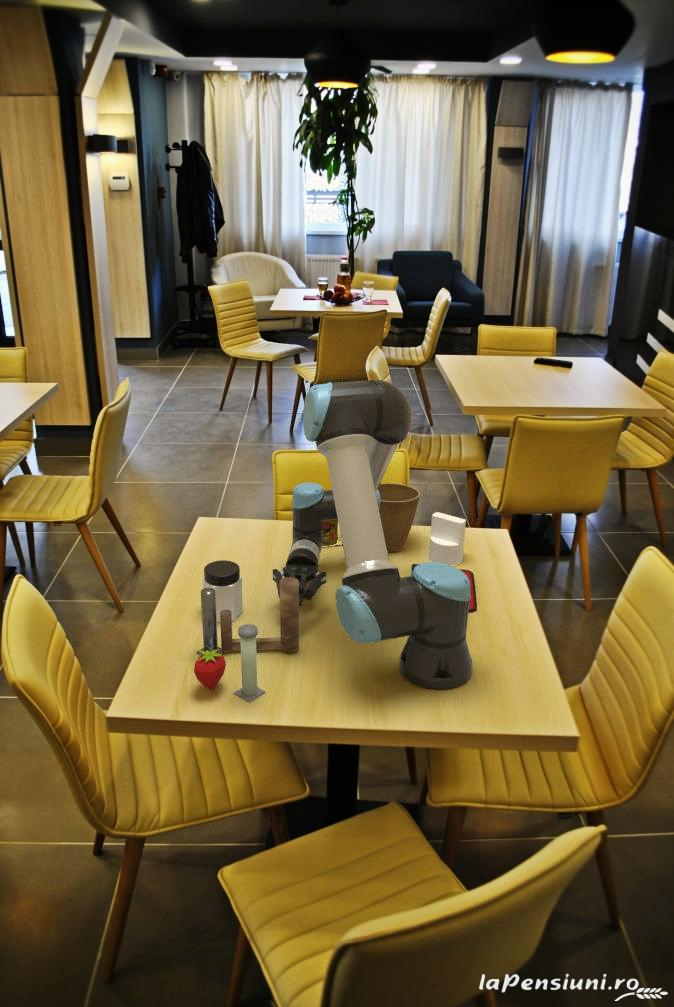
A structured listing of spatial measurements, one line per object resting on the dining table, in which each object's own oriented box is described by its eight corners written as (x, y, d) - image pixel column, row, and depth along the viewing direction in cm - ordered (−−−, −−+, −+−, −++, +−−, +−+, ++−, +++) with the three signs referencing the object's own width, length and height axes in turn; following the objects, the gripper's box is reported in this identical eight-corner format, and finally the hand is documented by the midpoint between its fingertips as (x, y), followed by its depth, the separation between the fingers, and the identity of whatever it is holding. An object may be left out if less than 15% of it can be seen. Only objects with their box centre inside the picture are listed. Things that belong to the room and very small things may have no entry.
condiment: (317, 548, 231) (318, 508, 226) (309, 536, 238) (309, 496, 233) (343, 545, 233) (344, 505, 228) (334, 533, 240) (334, 493, 235)
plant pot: (352, 542, 234) (353, 487, 229) (397, 533, 241) (399, 480, 236) (380, 561, 222) (383, 504, 217) (427, 551, 229) (430, 495, 224)
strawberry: (188, 696, 168) (186, 653, 164) (206, 675, 175) (204, 634, 171) (215, 702, 167) (213, 659, 163) (232, 682, 173) (231, 640, 169)
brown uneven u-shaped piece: (221, 653, 181) (218, 588, 175) (221, 643, 185) (219, 578, 178) (299, 651, 182) (299, 585, 176) (298, 641, 186) (298, 576, 180)
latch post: (265, 692, 170) (264, 628, 164) (249, 702, 167) (247, 638, 161) (249, 683, 173) (248, 621, 167) (234, 693, 169) (231, 629, 164)
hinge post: (225, 651, 183) (222, 590, 177) (210, 660, 180) (207, 598, 174) (211, 644, 186) (208, 584, 180) (196, 652, 183) (192, 591, 177)
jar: (241, 603, 203) (240, 558, 198) (244, 621, 195) (242, 575, 190) (203, 606, 201) (201, 561, 196) (204, 624, 194) (202, 577, 189)
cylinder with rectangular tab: (422, 560, 225) (425, 519, 221) (439, 548, 232) (441, 508, 227) (453, 569, 221) (456, 527, 216) (468, 557, 227) (472, 516, 223)
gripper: (329, 576, 206) (320, 627, 184) (276, 573, 207) (261, 624, 185) (330, 548, 203) (321, 597, 181) (276, 546, 204) (260, 594, 182)
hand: (290, 610), depth 183 cm, fingers closed
